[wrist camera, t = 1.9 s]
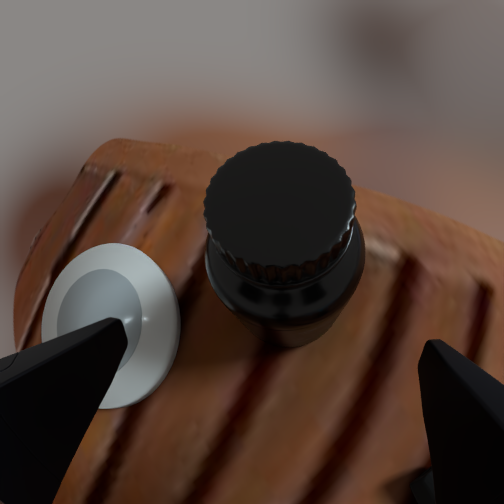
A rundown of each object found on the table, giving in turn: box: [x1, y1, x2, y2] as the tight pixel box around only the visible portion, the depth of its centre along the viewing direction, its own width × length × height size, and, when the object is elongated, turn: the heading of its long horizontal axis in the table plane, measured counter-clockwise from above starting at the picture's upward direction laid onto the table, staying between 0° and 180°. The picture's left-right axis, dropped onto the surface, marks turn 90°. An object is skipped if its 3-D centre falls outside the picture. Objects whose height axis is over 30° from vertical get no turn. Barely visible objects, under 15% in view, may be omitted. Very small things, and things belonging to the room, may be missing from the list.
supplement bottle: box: [203, 141, 365, 347], centre depth 14 cm, size 7×7×12 cm
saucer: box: [41, 243, 181, 409], centre depth 20 cm, size 13×13×2 cm
